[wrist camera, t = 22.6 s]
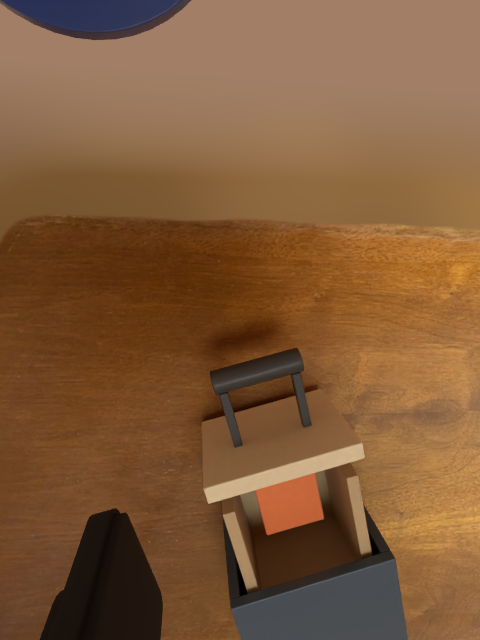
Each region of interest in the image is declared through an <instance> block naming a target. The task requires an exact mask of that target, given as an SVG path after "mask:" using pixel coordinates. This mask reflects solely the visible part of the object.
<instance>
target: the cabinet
mask: <svg viewBox="0 0 480 640" xmlns="http://www.w3.org/2000/svg"><path fill="white" fill-rule="evenodd" d="M221 506H222V503H221ZM363 506H364V505H363ZM364 512H365V517H366V523H367V528H368V534H369V540H370V545H371V551H372V556H371V557H367V558H364V559H361V560H357V561H354V562H351V563H348V564H344V565H341V566H338V567H335V568H331V569H328V570H325V571H322V572H318V573H315V574H312V575H308V576H305V577H302V578H299V579H295V580H292V581H289V582H286V583H282V584H279V585H276V586H273V587H269V588H266V589H263V590H260V591H256V592H253V593H250V594H248V592H247V589H246V586H245V583H244V580H243V577H242V574H241V571H240V567H239V564H238V561H237V558H236V555H235V552H234V549H233V546H232V543H231V540H230V536H229V533H228V530H227V527H226V524H225V521H224V518H223V528H224V539H225V550H226V561H227V573H228V584H229V595H230V605H231V611H232V614H233V617H234V620H235V623H236V625H237V628H238V631H239V634H240V637H241V640H408V637H407V631H406V624H405V618H404V612H403V605H402V599H401V592H400V586H399V579H398V573H397V566H396V560H395V557H394V556H393V554H392V552H391V551H390V549H389V547H388V545H387V544H386V542H385V540H384V538H383V537H382V535H381V533H380V532H379V530H378V528H377V527H376V525H375V523H374V522H373V520H372V518H371V516H370V515H369V513H368V511H367V510H366V508H365V506H364ZM222 517H223V513H222Z"/></svg>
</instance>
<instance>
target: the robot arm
mask: <svg viewBox="0 0 480 640" xmlns="http://www.w3.org/2000/svg"><path fill="white" fill-rule="evenodd" d="M162 612H163V603H162V596H161V592H160V589H159V587H158V584H157V582H156V580H155V577H154V575H153V573H152V570H151V568H150V566H149V563H148V561H147V559H146V556H145V554H144V552H143V549H142V547H141V545H140V542H139V540H138V538H137V535H136V533H135V531H134V528H133V526H132V524H131V521H130V519H129V517H128V515H127V514H126V513H121V514H120V512H119V510H117V509H111V510H108V511H104V512H101V513H97V514H94V515H91V516H90V517H89V519H88V521H87V524H86V527H85V530H84V533H83V536H82V539H81V542H80V545H79V548H78V550H77V553H76V556H75V559H74V562H73V565H72V568H71V571H70V574H69V577H68V580H67V583H66V586H65V588H64V590H62V591H61V592H60V593H59V594H58V595H57V596H56V598H55V600H54V602H53V605H52V607H51V610H50V613H49V615H48V618H47V621H46V624H45V627H44V629H43V632H42V635H41V638H40V640H160V638H161V625H162Z"/></svg>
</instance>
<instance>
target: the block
mask: <svg viewBox="0 0 480 640" xmlns="http://www.w3.org/2000/svg"><path fill="white" fill-rule="evenodd" d="M255 493H256V497H257V501H258V505H259V508H260V512H261V516H262V520H263V523H264V527H265V531H266V534H267V535H270V534H274V533H277V532H281V531H284V530H288V529H291V528H295V527H298V526H302V525H305V524H309V523H312V522H315V521H319V520H322V519H324V514H323V509H322V504H321V499H320V494H319V490H318V485H317V480H316V475H315V473H313V474H309V475H306V476H302V477H299V478H296V479H292V480H289V481H285V482H282V483H278V484H275V485H272V486H268V487H265V488H261V489H258V490H255Z"/></svg>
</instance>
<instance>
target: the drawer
mask: <svg viewBox="0 0 480 640" xmlns="http://www.w3.org/2000/svg"><path fill="white" fill-rule="evenodd" d="M301 371H304V365H303V360H302V357H301V354H300V352H299V350H298V349H297V348H293V349H290V350H286V351H283V352H279V353H275V354H272V355H268V356H264V357H261V358H257V359H253V360H250V361H246V362H243V363H239V364H235V365H232V366H228V367H224V368H221V369H217V370H213V371H210V377H211V381H212V385H213V389H214V392H215V394H216V395H219V396H220V399H221V403H222V406H223V410H224V413H225V416H222V417H218V418H215V419H211V420H207V421H204V422H202V452H203V488H204V492H205V495H206V498H207V501H208V503H209V504H210V503H214V502H217V501H220V500H221V502H222V513H223V518H224V521H225V524H226V527H227V530H228V533H229V536H230V540H231V543H232V546H233V549H234V552H235V555H236V558H237V561H238V564H239V567H240V571H241V574H242V577H243V580H244V583H245V586H246V589H247V592H248V594H250V593H253V592H256V591H260V590H263V589H266V588H269V587H273V586H276V585H279V584H282V583H286V582H289V581H292V580H295V579H299V578H302V577H305V576H308V575H312V574H315V573H318V572H322V571H325V570H328V569H331V568H335V567H338V566H341V565H344V564H348V563H351V562H354V561H357V560H361V559H364V558H367V557H371V556H372V551H371V545H370V540H369V534H368V528H367V523H366V517H365V512H364V506H363V501H362V495H361V489H360V484H359V478H358V475H357V473H356V471H355V470H354V468H353V467H352V465H351V464H350V462H354V461H357V460H360V459H364V458H365V455H364V449H363V443H362V442H361V441H360V439H359V438H358V437H357V435H356V434H355V433H354V431H353V430H352V429H351V427H350V426H349V425H348V423H347V422H346V421H345V419H344V418H343V417H342V415H341V414H340V413H339V411H338V410H337V409H336V407H335V406H334V405H333V403H332V402H331V401H330V399H329V398H328V397H327V395H326V394H325V393H324V391H323V390H322V389H317V390H314V391H310V392H307V393H305V391H304V387H303V382H302V377H301V373H300V372H301ZM287 375H291V378H292V383H293V387H294V392H295V396H293V397H289V398H286V399H282V400H278V401H275V402H271V403H268V404H264V405H261V406H257V407H254V408H250V409H246V410H243V411H239V412H236V413H234V411H233V407H232V404H231V400H230V397H229V393H228V392H230V391H233V390H237V389H240V388H244V387H247V386H251V385H255V384H258V383H262V382H265V381H269V380H273V379H276V378H280V377H283V376H287ZM313 473H315V475H316V480H317V485H318V490H319V494H320V499H321V504H322V509H323V514H324V519H322V520H319V521H315V522H312V523H309V524H305V525H302V526H298V527H295V528H291V529H288V530H284V531H281V532H277V533H274V534H270V535H267V534H266V531H265V527H264V523H263V520H262V516H261V512H260V508H259V505H258V501H257V497H256V493H255V490H258V489H261V488H265V487H268V486H272V485H275V484H278V483H282V482H285V481H289V480H292V479H296V478H299V477H302V476H306V475H309V474H313Z"/></svg>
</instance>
